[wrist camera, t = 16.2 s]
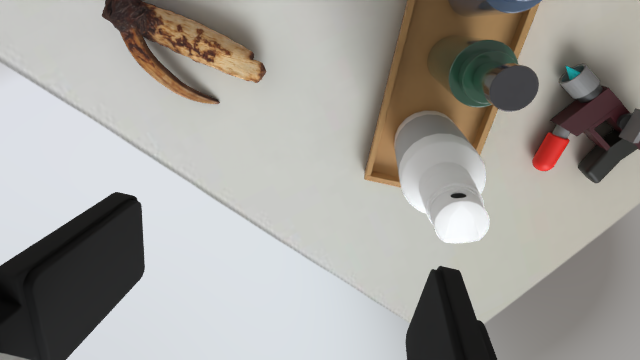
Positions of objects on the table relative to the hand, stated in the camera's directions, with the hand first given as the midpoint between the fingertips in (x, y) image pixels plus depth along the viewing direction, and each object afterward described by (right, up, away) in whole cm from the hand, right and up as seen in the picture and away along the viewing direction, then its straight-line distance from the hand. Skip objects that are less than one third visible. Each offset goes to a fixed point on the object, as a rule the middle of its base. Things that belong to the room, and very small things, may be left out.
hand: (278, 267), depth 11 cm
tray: (+14, +13, +25) cm, 32 cm away
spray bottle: (+13, +7, +28) cm, 32 cm away
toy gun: (+27, +8, +26) cm, 38 cm away
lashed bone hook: (-13, +17, +28) cm, 35 cm away
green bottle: (+14, +15, +24) cm, 32 cm away
